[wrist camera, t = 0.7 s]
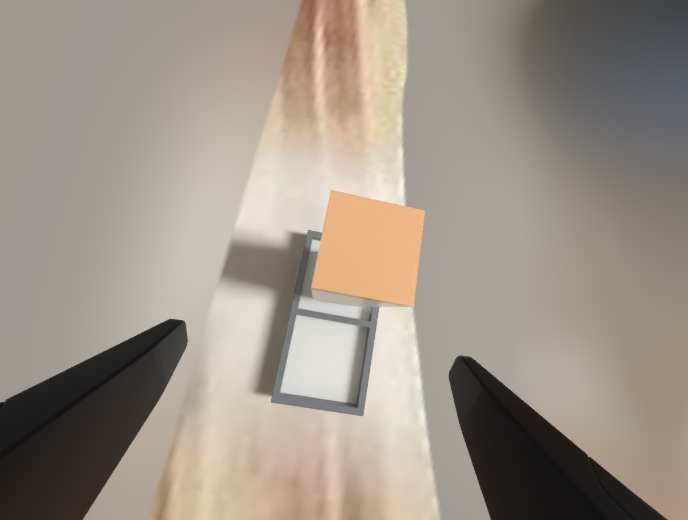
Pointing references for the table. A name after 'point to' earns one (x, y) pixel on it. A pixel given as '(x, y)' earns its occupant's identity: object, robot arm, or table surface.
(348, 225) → the block
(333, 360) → the organiser
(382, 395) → the table surface
